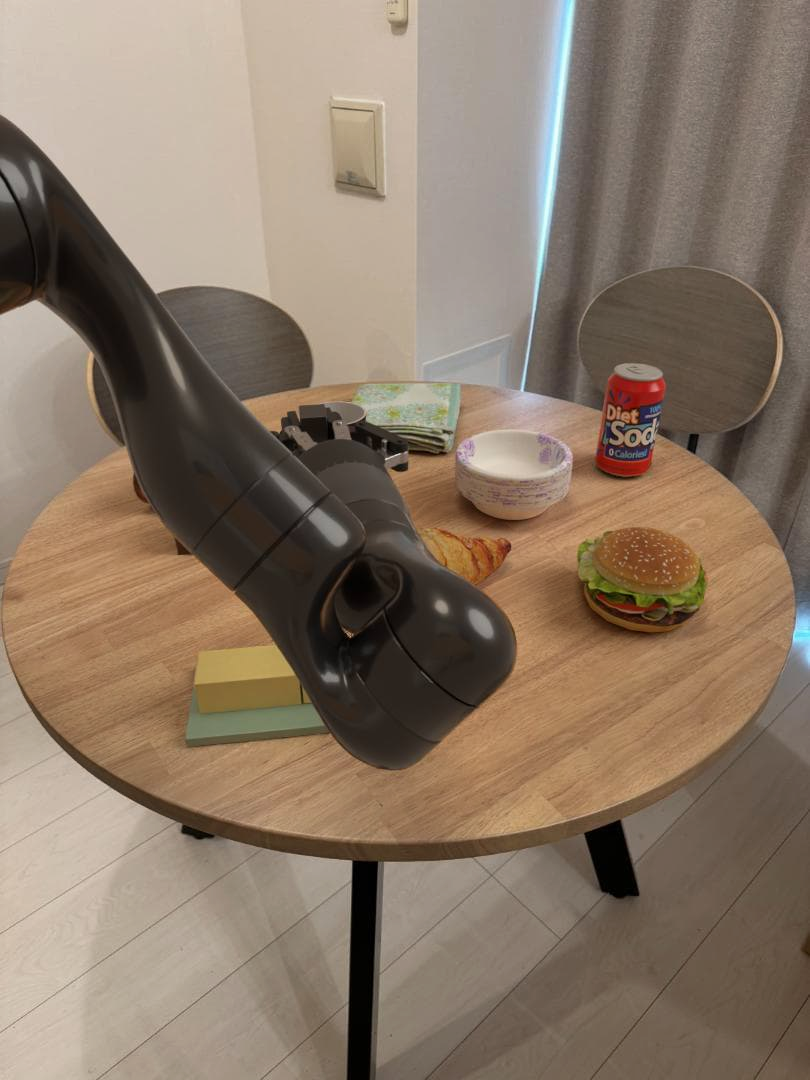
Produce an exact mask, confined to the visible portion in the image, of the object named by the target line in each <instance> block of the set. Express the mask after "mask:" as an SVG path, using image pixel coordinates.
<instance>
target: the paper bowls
mask: <svg viewBox="0 0 810 1080" xmlns="http://www.w3.org/2000/svg"><path fill="white" fill-rule="evenodd" d="M454 455H455V456H454V459H455V460H454V481H455V482H454V483H455V486H456V487H455V488H456V490H458V492H459V493H460V494H461V495H462V496H463V497H464V498H465V499H467V500H468V501H470V502H472V505H474V507H475V508H476V509H477V510H478V511H480V512H481V513H483V514H485V515H487V516H489V517H492V518H496V519H500V520H508V521H520V520H527V519H532V518H534V517H537V516H539V515H541V514H543V513H544V512H546V511H547V509H548V508H549V507H551V506H553V505H555V504H556V503H558V502H560V501H561V500H563V499H564V498H565V497H566V495H567V494H568V493H569V491H570V487H571V479H572V470H573V465H574V458H573V457H574V456H573V453H572V450H571V449H570V447H569V446H568V445H567V444H566V443H564V442H563V441H562V440H560V439H558V438H556V437H554V436H552V435H549V434H546V433H543V432H538V431H533V430H527V429H517V428H513V429H512V428H507V429H506V428H504V429H502V428H501V429H493V430H487V431H482V432H479V433H476V434H473V435H471V436H468V437H466V438H465V439H463V441H461V442H460V443H459V445H458V446H457V448H456V450H455V453H454Z"/></svg>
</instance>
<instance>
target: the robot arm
mask: <svg viewBox="0 0 810 1080" xmlns="http://www.w3.org/2000/svg"><path fill="white" fill-rule="evenodd" d="M35 301H36V302H39V303H40V304H41V305H43V306H44V307H46V308H47V309H48V310H49V311H51V312H52V313H53V314H54V315H56V316H57V317H58V318H59V319H60V320H62V321H63V322H64V323H65V324H66V325H67V326H68V327H70V329H72V330H73V332H75V334H76V335H78V336H79V338H80V339H81V340H82V341H83V343H84V344H85V345H86V347H87V348H88V349H89V350H90V352H91V353H92V355H93V356H94V359H95V361H96V362H97V363H98V365H99V367H100V369H101V372H102V374H103V377H104V379H105V382H106V384H107V386H108V389H109V393H110V395H111V397H112V401H113V405H114V408H115V412H116V415H117V418H118V422H119V427H120V430H121V434H122V437H123V442H124V445H125V448H126V451H127V454H128V459H129V461H130V465H131V468H132V471H133V474H134V473H135V476H136V479H137V481H138V483H139V486H140V488H141V490H142V492H143V494H144V496H145V498H146V499H147V501H148V502H149V506H150V508H151V509H152V511H153V513H154V514H155V515H156V516H157V517H158V519H159V521H160V522H161V523H162V524H163V525H164V527H165V528H166V529H167V530H168V531H169V532H170V534H171V535H172V536H173V537H174V539H175V538H176V539H177V540H178V541H179V542H180V543H181V544H182V545H183V546H184V547H185V548H186V549H187V550H188V551H189V552H190V553H191V554H190V555H193V556H194V557H195V558H196V559H197V560H198V561H199V563H201V564H202V565H203V566H204V567H205V568H207V570H208V571H209V572H210V573H212V574H213V575H214V576H215V577H216V578H217V579H218V580H219V581H220V582H221V583H222V584H223V585H224V586H225V587H226V588H227V589H229V590H230V592H234V596H236V598H238V599H239V600H240V601H241V602H242V603H243V604H244V605H245V606H246V607H247V608H248V609H249V610H250V611H251V613H252V614H254V616H255V618H256V619H257V620H258V621H259V623H260V624H261V625H262V627H263V628H264V630H265V631H266V633H267V634H268V635H269V638H270V639H271V640H272V641H273V643H274V645H276V646H277V647H278V649H279V650H280V652H281V653H282V655H283V656H284V658H285V659H286V661H287V662H288V664H289V665H290V667H291V669H292V670H293V672H294V674H295V675H296V677H297V679H298V680H299V682H300V683H301V685H302V687H303V689H304V690H305V692H306V694H307V696H308V698H309V699H310V701H311V703H312V705H313V706H314V708H315V710H316V711H317V713H318V715H319V717H320V718H321V720H322V722H323V723H324V725H325V726H326V728H327V729H328V731H329V732H330V733H329V734H330V735H331V736H332V738H333V739H334V740H335V741H336V743H337V744H338V745H339V746H340V747H341V748H342V749H343V750H344V751H345V752H347V753H348V754H349V755H350V756H352V757H353V758H354V759H356V760H358V761H359V762H361V763H363V764H365V765H367V766H369V767H373V768H376V769H378V770H379V769H380V770H385V771H390V772H391V771H393V772H394V771H403V770H407V769H410V768H412V767H413V766H415V765H417V764H418V763H420V762H421V761H423V759H425V758H426V757H427V756H428V755H429V754H431V753H432V752H433V751H434V750H435V749H436V748H437V747H438V746H439V745H440V744H441V743H443V741H444V740H445V739H447V738H448V736H450V735H451V734H452V733H453V732H454V731H455V730H456V729H458V728H459V726H461V725H462V724H463V723H464V722H465V721H466V720H467V719H468V718H470V717H471V716H472V715H473V714H475V712H476V711H478V710H479V709H480V708H481V706H483V705H484V704H486V702H487V701H489V700H491V698H493V696H494V695H495V694H497V693H498V692H499V691H500V690H501V689H502V688H503V687H504V686H505V685H506V683H507V682H508V680H509V679H510V678H511V676H512V674H513V672H514V670H515V667H516V664H517V659H518V658H517V657H518V641H517V635H516V632H515V629H514V626H513V623H512V622H511V620H510V618H509V616H508V615H507V613H506V612H505V610H504V609H503V608H502V607H501V606H500V605H499V604H498V603H497V601H495V600H494V598H492V597H491V595H488V594H487V593H486V592H485V591H484V590H483V589H481V588H480V587H479V586H477V584H476V585H474V584H473V583H471V582H470V581H468V580H466V579H465V578H463V577H462V576H460V575H459V574H457V573H455V572H454V571H452V570H450V569H449V568H447V567H446V566H445V565H443V564H442V563H441V562H440V561H438V560H437V559H436V558H435V556H434V555H433V554H432V553H431V552H430V551H429V549H428V548H427V547H426V545H425V543H424V542H423V540H422V539H421V537H420V535H419V533H418V532H417V530H418V529H417V528H416V526H415V524H414V523H413V520H412V517H411V513H410V509H409V507H408V504H407V503H406V501H405V499H404V497H403V496H402V494H401V492H400V490H399V488H398V487H397V486H396V483H395V482H394V480H393V478H392V477H391V475H390V473H389V469H390V470H392V471H394V472H397V473H404V472H407V471H408V470H409V450H408V440H407V439H405V438H403V437H400V436H398V435H396V434H394V433H391V432H389V431H387V430H385V429H383V428H380V427H378V426H376V425H374V424H371V423H369V422H367V421H358V422H356V423H355V426H348V425H347V422H346V421H343V420H342V418H341V416H340V414H339V413H337V412H332V411H331V409H330V407H325V410H326V415H327V426H328V441H324V442H321V443H317V442H314V441H313V440H312V439H311V437H310V436H309V435H308V433H307V432H302V430H301V425H300V418H299V415H298V414H297V412H296V410H289V411H287V412H286V416H282V417H281V419H280V424H281V430H282V434H279V433H280V432H278V431H276V430H269V429H268V428H267V427H266V426H265V425H264V424H263V423H262V422H261V421H260V420H259V419H258V418H257V417H256V416H255V415H254V414H253V413H252V411H250V409H249V408H248V407H247V406H246V405H245V404H244V403H243V402H242V401H241V400H240V399H239V398H238V397H237V395H236V394H235V393H234V392H233V391H232V389H230V387H229V386H228V385H227V384H226V383H225V382H224V380H223V378H221V377H220V375H219V374H218V373H217V372H216V371H215V370H214V368H213V367H212V366H211V365H210V364H209V362H208V361H207V360H206V358H205V357H204V355H203V354H201V352H200V350H198V348H197V346H196V345H194V343H193V342H192V340H191V339H190V338H189V336H188V335H187V334H186V332H185V331H184V329H182V326H180V324H179V323H178V322H177V320H176V319H175V317H173V315H172V313H171V312H170V311H169V310H168V308H167V307H166V305H164V304H163V302H162V300H161V299H160V297H159V296H158V294H156V292H155V290H154V289H153V288H152V287H151V285H150V284H149V283H148V281H147V280H146V279H145V277H144V275H142V274H141V272H140V270H139V269H138V268H137V267H136V266H135V264H134V263H133V261H131V260H130V258H129V257H128V255H126V253H125V252H124V250H123V248H121V246H120V245H119V244H118V242H117V241H116V240H115V239H114V237H113V236H112V235H111V233H110V232H109V231H108V230H107V229H106V227H105V226H104V224H103V223H102V222H101V220H100V219H99V218H98V216H97V215H96V214H95V213H94V211H93V210H92V208H91V207H90V206H89V205H88V204H87V202H86V201H85V199H84V198H83V197H82V196H81V195H80V193H79V192H78V191H77V189H76V188H75V187H74V185H73V184H72V183H71V182H70V181H69V180H68V178H67V177H66V176H65V175H64V173H63V172H62V171H61V170H60V169H59V167H58V166H57V165H56V164H55V162H54V161H53V160H52V159H51V158H50V157H49V156H48V155H47V154H46V152H45V151H43V149H41V147H40V146H39V145H38V144H37V143H36V142H35V141H34V140H33V139H32V138H31V137H30V136H28V135H27V134H26V133H25V132H24V131H23V130H22V129H21V128H20V127H18V125H16V123H14V122H12V121H11V120H9V118H7V117H5V116H4V115H2V114H0V316H2V315H5V314H7V313H9V312H11V311H14V310H16V309H17V308H21V307H24V306H26V305H29V304H30V303H32V302H35ZM370 438H371V440H372V445H371V444H370ZM346 632H348V633H350V634H352V635H351V636H349V635H348V634H347V633H346Z"/></svg>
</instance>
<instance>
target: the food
mask: <svg viewBox="0 0 810 1080" xmlns="http://www.w3.org/2000/svg"><path fill="white" fill-rule="evenodd" d="M698 556H699V555H698V554H697V553H696V551H695V550H693V549H692V548H691V546H690V545H689V544H687V543H686V542H685V541H684V540H682V539H681V538H679V537H678V536H675V535H674V534H673V533H670V532H666V531H664V530H661V529H657V528H653V527H646V526H645V527H644V526H629V527H624V528H619V529H616V530H606V531H605V532H603V533H602V536H596V538H595V539H594V540H593V542H592V541H591V540H590V539H589V537H586V539H585V541H583V542H581V543H580V544H579V546H578V548H577V553H576V559H577V560H576V561H577V567H578V571H577V574H578V577H579V579H580V582H582V583H583V584H584V586H583V593H584V597H585V599H586V601H587V603H588V605H589V607H590V609H591V610H593V612H595V613H596V614H597V615H599V616H600V617H601V618H603V620H605V621H606V622H608V623H610V624H614V625H616V626H618V627H621V628H624V629H626V630H630V631H635V632H644V633H661V632H669V631H671V630H674V629H676V628H678V627H681V626H683V625H685V624H686V623H687V622H688V621H689V620H690V619H691V618H692V617H694V616H695V615H696V614H697V613H698V612H699V611H700V607H701V606H702V605H703V604H704V599H705V595H706V590H707V587H708V582H709V579H708V575H707V571H706V570H704V569H703V565H702V561H701V557H698Z"/></svg>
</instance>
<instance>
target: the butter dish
mask: <svg viewBox="0 0 810 1080" xmlns="http://www.w3.org/2000/svg"><path fill="white" fill-rule="evenodd" d="M196 668H197V663H196V665H195V669H196ZM195 674H196V670H195V672H194V675H195ZM194 681H195V676H194V678H193V682H194ZM301 703H302V704H301V705H290V706H279V707H269V708H258V709H248V710H237V711H227V712H216V713H206V714H200V712H199V707H198V702H197V697H196V692H195V687H194V683H193V684H192V691H191V697H190V704H189V710H188V717H187V724H186V729H185V736H184V742H185V746H186V748H190V747H191V748H192V747H201V746H210V745H220V744H231V743H241V742H251V741H260V740H261V741H262V740H270V739H271V740H272V739H281V738H289V737H302V736H310V735H322V734H330V732H329V731H328V729H327V728H326V726H325V725H324V723H323V722H322V720H321V718H320V717H319V715H318V713H317V711H316V710H315V708H314V706H313V705H312V703H304V701H303V691H302V685H301Z"/></svg>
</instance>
